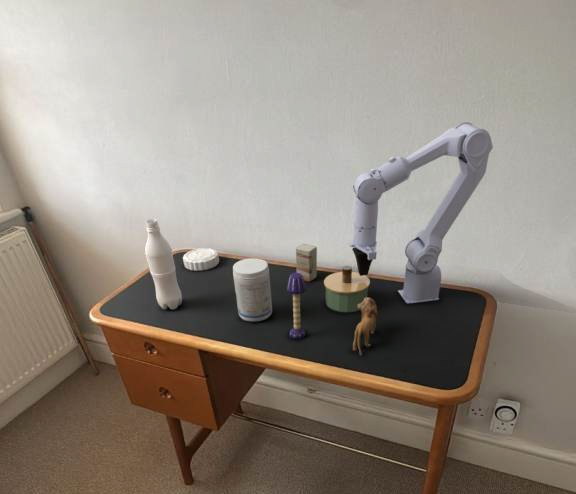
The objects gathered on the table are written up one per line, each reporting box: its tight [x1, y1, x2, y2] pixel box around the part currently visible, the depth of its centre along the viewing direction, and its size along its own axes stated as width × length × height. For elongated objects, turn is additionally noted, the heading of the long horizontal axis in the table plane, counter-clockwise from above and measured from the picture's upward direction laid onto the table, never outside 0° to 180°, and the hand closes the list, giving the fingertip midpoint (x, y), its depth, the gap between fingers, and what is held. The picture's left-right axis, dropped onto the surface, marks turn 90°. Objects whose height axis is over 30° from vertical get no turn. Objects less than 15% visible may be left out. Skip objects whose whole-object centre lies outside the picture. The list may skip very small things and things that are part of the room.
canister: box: [325, 287, 369, 313], centre depth 130 cm, size 12×12×6 cm
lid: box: [323, 265, 371, 294], centre depth 127 cm, size 13×13×5 cm
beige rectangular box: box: [295, 243, 318, 283], centre depth 143 cm, size 5×4×10 cm
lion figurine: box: [352, 296, 379, 356], centre depth 114 cm, size 15×5×9 cm, turn 168°
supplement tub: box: [232, 257, 273, 323], centre depth 125 cm, size 10×10×15 cm
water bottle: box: [144, 218, 183, 310], centre depth 129 cm, size 7×7×25 cm
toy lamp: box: [286, 272, 307, 340], centre depth 115 cm, size 5×5×17 cm
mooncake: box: [182, 247, 220, 272], centre depth 158 cm, size 12×12×4 cm
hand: (363, 274), depth 127 cm, fingers closed
